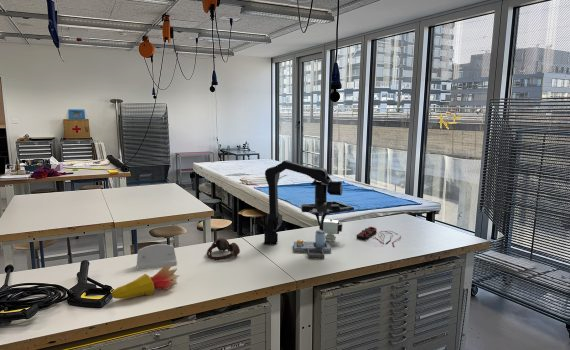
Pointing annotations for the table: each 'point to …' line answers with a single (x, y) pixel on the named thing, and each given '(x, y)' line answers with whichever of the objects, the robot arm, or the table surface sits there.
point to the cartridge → (320, 238)
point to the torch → (147, 284)
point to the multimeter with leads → (370, 232)
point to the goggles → (223, 245)
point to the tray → (315, 253)
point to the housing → (311, 247)
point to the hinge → (155, 256)
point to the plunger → (299, 242)
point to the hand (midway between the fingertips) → (320, 225)
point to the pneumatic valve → (331, 228)
